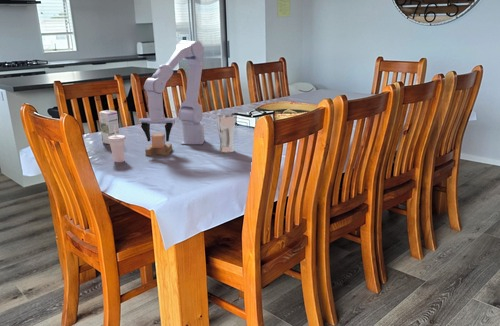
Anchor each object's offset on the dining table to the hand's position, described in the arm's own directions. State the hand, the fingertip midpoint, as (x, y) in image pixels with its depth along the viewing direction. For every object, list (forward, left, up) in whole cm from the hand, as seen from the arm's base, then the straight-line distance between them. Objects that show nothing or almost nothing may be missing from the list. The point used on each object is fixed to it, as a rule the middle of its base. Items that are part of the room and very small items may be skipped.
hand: (158, 140), depth 177 cm
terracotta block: (0, 0, -2) cm, 2 cm away
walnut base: (0, 0, -5) cm, 5 cm away
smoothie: (+13, +12, -5) cm, 18 cm away
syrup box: (+25, -15, -5) cm, 30 cm away
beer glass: (-28, -2, -5) cm, 29 cm away
